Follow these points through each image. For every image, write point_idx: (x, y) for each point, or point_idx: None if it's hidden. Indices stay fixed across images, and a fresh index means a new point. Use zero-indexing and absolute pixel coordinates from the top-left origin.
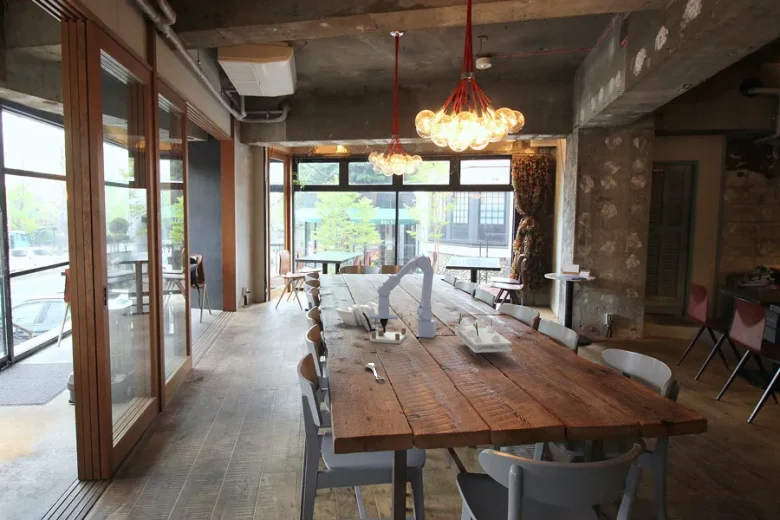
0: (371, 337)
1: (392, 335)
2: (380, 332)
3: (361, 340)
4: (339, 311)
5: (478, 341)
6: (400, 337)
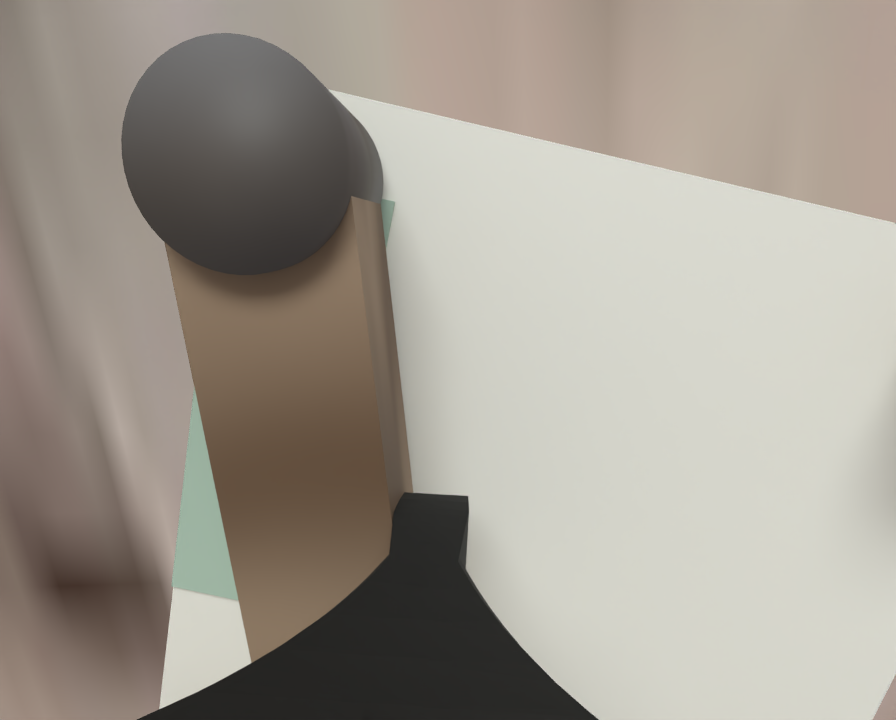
0: (165, 703)
1: (646, 528)
2: None
3: (6, 664)
4: None
5: None
6: (830, 690)
